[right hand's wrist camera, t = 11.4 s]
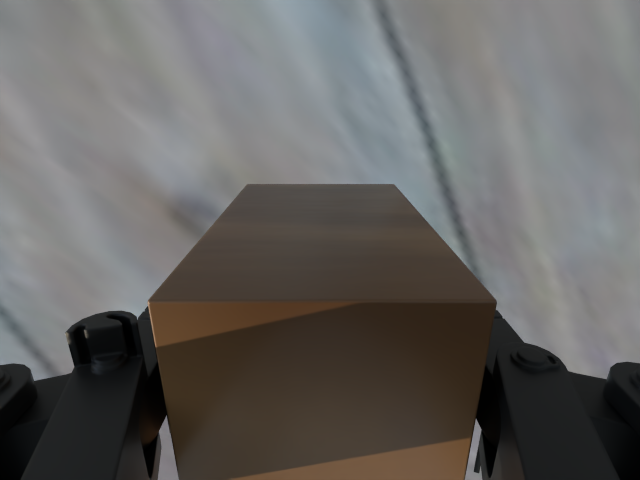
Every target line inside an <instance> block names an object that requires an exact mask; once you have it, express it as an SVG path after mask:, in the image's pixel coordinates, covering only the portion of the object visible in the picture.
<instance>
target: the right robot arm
mask: <svg viewBox="0 0 640 480" xmlns="http://www.w3.org/2000/svg"><path fill="white" fill-rule="evenodd" d="M65 334H66V337H67V341H68V345H69V348H70V352H71V356H72V359H73V363H74V369H73V371H72V373H70V374H66V375H62V376H57V377H52V378H47V379H42V380H37V381H34V379H33V376H32V373H31V370H30V369H29V368H28V367H27V366H25V365H22V364H6V365H0V480H158V472H159V463H160V455H161V441H160V435H159V430H160V428H161V426H162V423H163V421H164V419H165V417H166V415H167V409H166V404H165V398H164V392H163V387H162V381H161V376H160V370H159V364H158V359H157V353H156V347H155V342H154V336H153V330H152V325H151V319H150V314H149V308H148V307H147V308H146V309H145V312H143V313H142V314H141V315H140V316H139V317H138V320H137V317H136V316H135V315H133V314H132V313H130V312H125V311H108V312H104V313H99V314H95V315H92V316H90V317H87V318H84V319H82V320H81V321H79V322H77V323H76V324H74V325H72V326H71V327H70V328H69V329H68V330H67V331H66V333H65ZM167 419H168V415H167ZM476 419H477V421H478V423H479V425H480V427H481V429H482V430H481V435H480V441H479V446H478V451H477V456H476V461H475V467H474V472H476V473H479V471H480V466H481V471H482V479H483V480H640V363H632V362H622V363H616V364H615V365H613V366H612V367H611V368H610V371H609V374H608V377H607V379H602V378H597V377H592V376H587V375H582V374H577V373H573V372H569V371H568V370H567V368H566V366H565V365H564V364H563V363H562V361H561V360H560V359H559V358H558V357H557V356H555V355H554V354H552V353H551V352H549V351H547V350H545V349H543V348H541V347H538V346H535V345H531V344H527V343H524V342H523V341H522V339H521V338H520V337H519V336H518V335H517V333H516V332H515V331H514V330H513V329H512V327H511V326H510V325H509V324H508V323H507V321H506V320H505V319H503V318H502V315H501V314H500V313H499V312H498V311H497V310H495V315H494V321H493V326H492V332H491V337H490V343H489V348H488V354H487V359H486V365H485V370H484V376H483V381H482V387H481V392H480V398H479V403H478V409H477V414H476ZM168 425H169V421H168ZM169 430H170V426H169ZM170 433H171V432H170Z"/></svg>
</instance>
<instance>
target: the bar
mask: <svg viewBox="0 0 640 480" xmlns="http://www.w3.org/2000/svg"><path fill="white" fill-rule="evenodd" d="M496 304H497V301H496V299H495V298H494V297H493V296H492V295H491V294H490V292H489V291H488V290H487V289H486V288H485V287H484V286H483V285H482V283H481V282H480V281H479V280H478V279H477V278H476V277H475V275H474V274H473V273H472V272H471V271H470V270H469V269H468V268H467V266H466V265H465V264H464V263H463V262H462V261H461V260H460V258H459V257H458V256H457V255H456V254H455V253H454V252H453V251H452V249H451V248H450V247H449V246H448V245H447V244H446V243H445V241H444V240H443V239H442V238H441V237H440V236H439V235H438V234H437V232H436V231H435V230H434V229H433V228H432V227H431V226H430V224H429V223H428V222H427V221H426V220H425V219H424V218H423V217H422V215H421V214H420V213H419V212H418V211H417V210H416V209H415V207H414V206H413V205H412V204H411V203H410V202H409V201H408V200H407V198H406V197H405V196H404V195H403V194H402V193H401V192H400V190H399V189H398V188H397V187H396V186H395V185H394V184H247V185H246V186H245V188H244V189H243V190H242V191H241V192H240V193H239V195H238V196H237V197H236V198H235V199H234V200H233V202H232V203H231V204H230V205H229V206H228V207H227V209H226V210H225V211H224V212H223V213H222V214H221V216H220V217H219V218H218V219H217V220H216V221H215V223H214V224H213V225H212V226H211V227H210V228H209V230H208V231H207V232H206V233H205V234H204V236H203V237H202V238H201V239H200V240H199V241H198V243H197V244H196V245H195V246H194V247H193V248H192V250H191V251H190V252H189V253H188V254H187V255H186V257H185V258H184V259H183V260H182V261H181V262H180V264H179V265H178V266H177V267H176V268H175V269H174V271H173V272H172V273H171V274H170V275H169V276H168V278H167V279H166V280H165V281H164V282H163V283H162V285H161V286H160V287H159V288H158V289H157V291H156V292H155V293H154V294H153V295H152V296H151V298H150V299H149V300H148V308H149V314H150V319H151V325H152V330H153V336H154V342H155V347H156V353H157V359H158V364H159V370H160V376H161V381H162V387H163V392H164V398H165V404H166V409H167V415H168V421H169V426H170V432H171V438H172V443H173V449H174V455H175V460H176V466H177V471H178V477H179V480H465V475H466V469H467V464H468V458H469V453H470V447H471V442H472V436H473V431H474V425H475V420H476V414H477V409H478V403H479V398H480V392H481V387H482V381H483V376H484V370H485V365H486V359H487V354H488V348H489V343H490V337H491V332H492V326H493V321H494V315H495V310H496Z"/></svg>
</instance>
